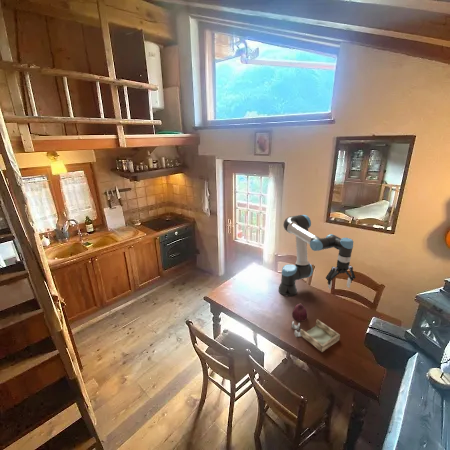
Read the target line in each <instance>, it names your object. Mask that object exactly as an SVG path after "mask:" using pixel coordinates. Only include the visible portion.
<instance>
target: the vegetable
mask: <svg viewBox="0 0 450 450" xmlns="http://www.w3.org/2000/svg"><path fill="white" fill-rule="evenodd" d="M291 315H292V317H291V318H293V319H294V320H295V321H297V322H305V321H306V320H307V319H308V312H307V309H306V307H305V306H304V305H303V304H302V303H297V304H296V305H295V306H294V308H293V310H292V313H291Z"/></svg>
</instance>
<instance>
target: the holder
mask: <svg viewBox="0 0 450 450" xmlns="http://www.w3.org/2000/svg"><path fill="white" fill-rule="evenodd" d="M300 329H301V332H300V331H299V332H300V334H301V335H302V336H301V337H302V338H303V339H304V340H306V341H307V342H308V343H310V345H312V346H314V347H315V348H316V349H317V350H318V351H320V352H321V353H324V352H325V351H326V350H328V349H329V348H330V347H332V346H333V345H335V344H336V343H338V342H339V341H340V339H341V337H340V336H341V334H340V333H339V332H337V331H335V330H334V329H332V327H330V326H328V325H327V324H326V323H324V322H322V321H321V320H320V319H318V318H317V319H316V321H315V325H314V326H313V327H312V328H310V329H308V330H307V331H305V329H302V328H300Z"/></svg>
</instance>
